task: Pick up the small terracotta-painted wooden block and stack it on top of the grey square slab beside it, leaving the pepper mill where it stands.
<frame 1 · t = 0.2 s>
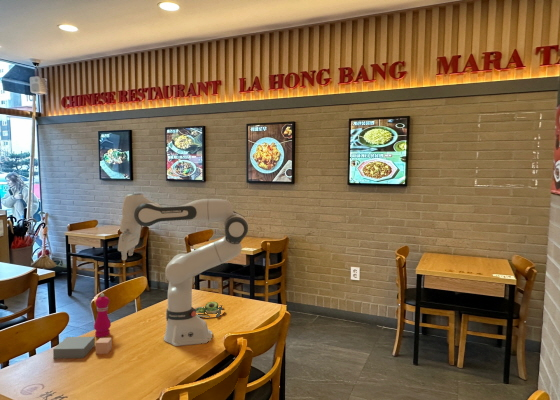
hand: (127, 257, 178), 38 cm above the table, tool pointing down, fingers open, 8 cm apart
terracotta block: (103, 351, 167), on the table
salad plate: (209, 313, 217), on the table
pepper mill: (102, 335, 184), on the table
grey square slab: (74, 351, 166), on the table
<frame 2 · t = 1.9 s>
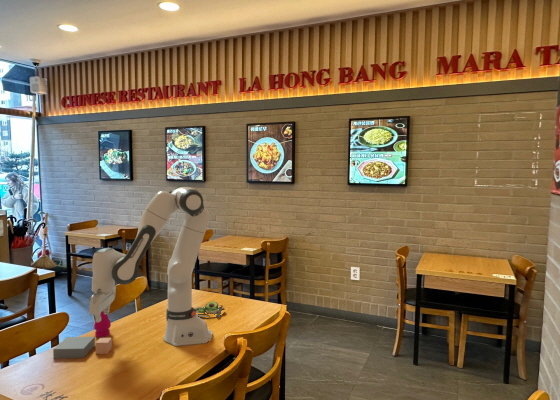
hand: (102, 317, 166), 15 cm above the table, tool pointing down, fingers open, 8 cm apart
nothing on the table moved.
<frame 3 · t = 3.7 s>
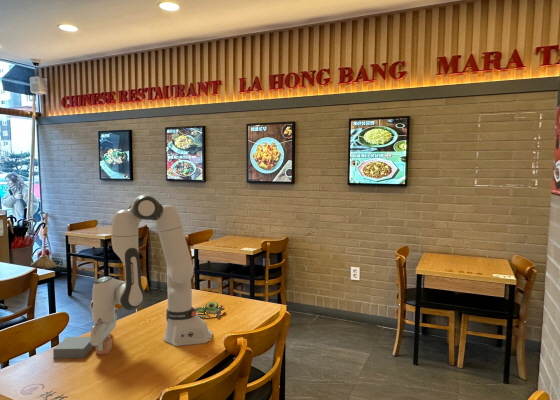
hand: (103, 346, 167), 2 cm above the table, tool pointing down, fingers closed on terracotta block, 5 cm apart
terracotta block: (103, 351, 167), on the table, touching gripper
everything else where it was.
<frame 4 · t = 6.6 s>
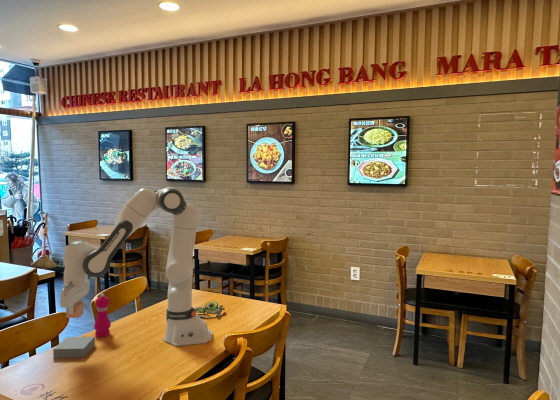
hand: (75, 311, 165), 18 cm above the table, tool pointing down, fingers closed on terracotta block, 5 cm apart
terracotta block: (74, 315, 165), point 16 cm above the table, touching gripper
everything else where it was.
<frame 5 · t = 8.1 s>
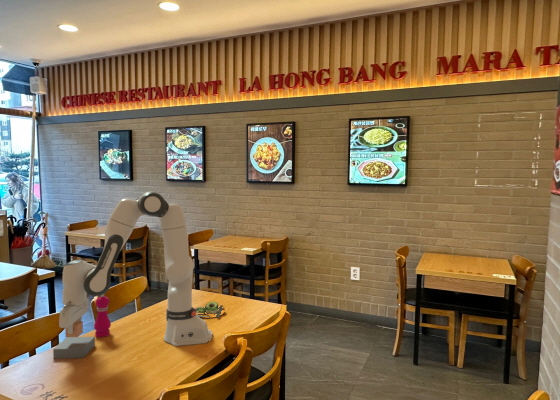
hand: (74, 329, 165), 10 cm above the table, tool pointing down, fingers closed on terracotta block, 5 cm apart
terracotta block: (74, 334, 165), point 7 cm above the table, touching gripper
everything else where it was.
when the fingers open (8 cm above the table, at t = 9.3 s): terracotta block drops 1 cm, resting on grey square slab.
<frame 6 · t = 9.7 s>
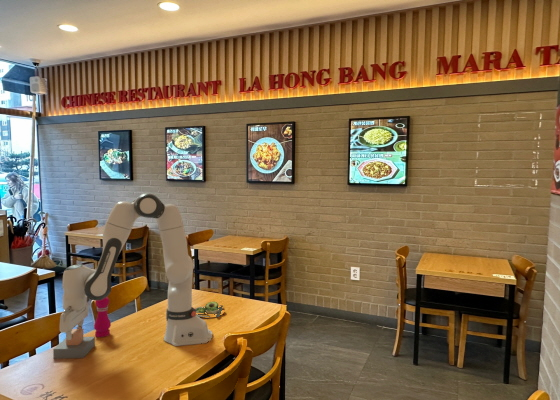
hand: (74, 334, 165), 8 cm above the table, tool pointing down, fingers open, 8 cm apart
terracotta block: (74, 342, 166), point 4 cm above the table, touching grey square slab
everything else where it was.
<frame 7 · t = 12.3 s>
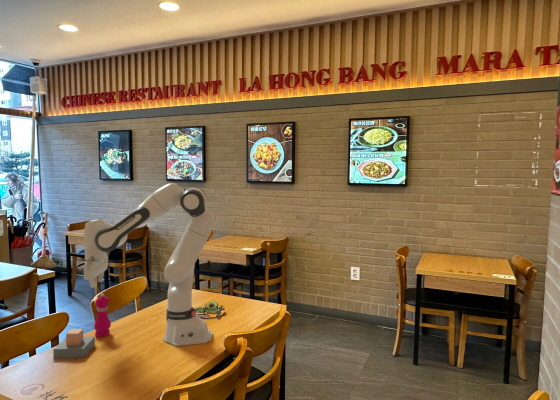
hand: (96, 284, 177), 26 cm above the table, tool pointing down, fingers open, 8 cm apart
nothing on the table moved.
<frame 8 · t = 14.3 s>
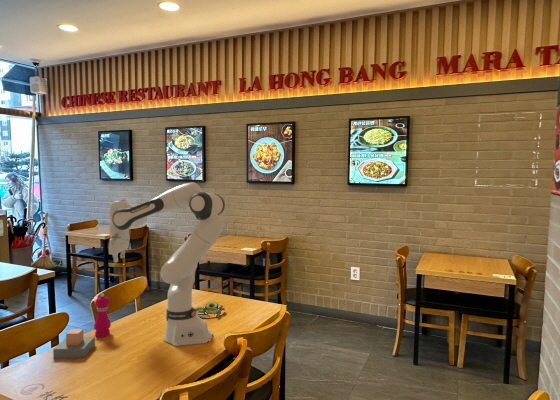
hand: (119, 260, 192), 34 cm above the table, tool pointing down, fingers open, 8 cm apart
nothing on the table moved.
at the end: terracotta block inside the target area on the grey square slab (0.1 cm from its centre), point 4.0 cm above the grey square slab's base; terracotta block tilted 0°; the gripper is holding nothing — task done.
